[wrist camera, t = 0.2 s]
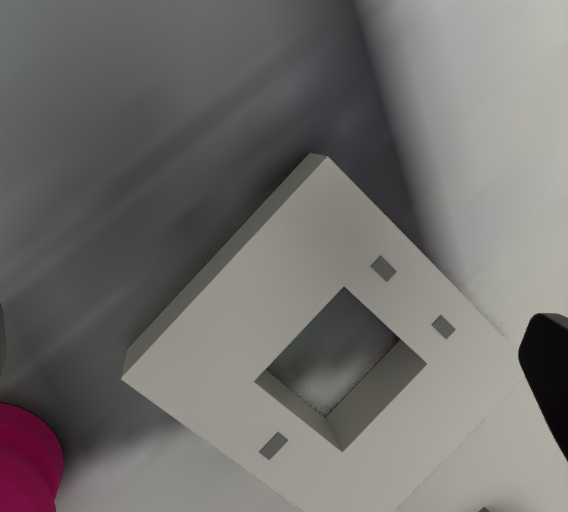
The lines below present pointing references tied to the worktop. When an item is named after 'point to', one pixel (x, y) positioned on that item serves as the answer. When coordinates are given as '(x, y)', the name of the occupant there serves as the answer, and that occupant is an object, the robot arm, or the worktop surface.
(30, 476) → the pepper mill
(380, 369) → the socket plate
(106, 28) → the worktop surface
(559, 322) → the robot arm
